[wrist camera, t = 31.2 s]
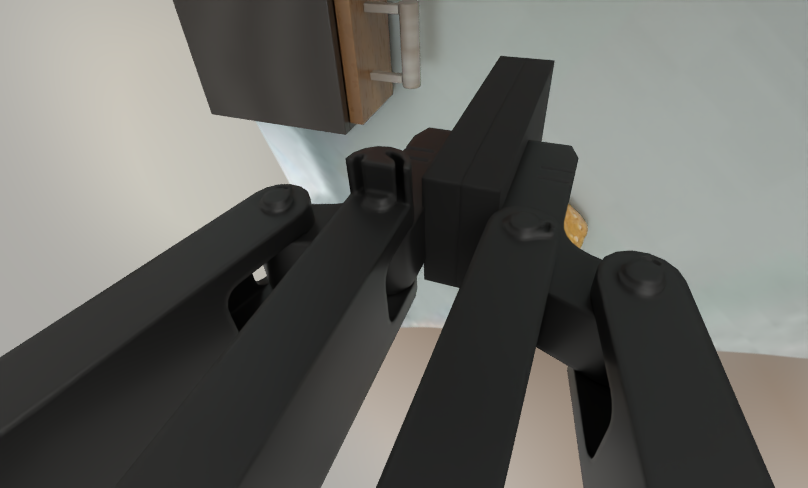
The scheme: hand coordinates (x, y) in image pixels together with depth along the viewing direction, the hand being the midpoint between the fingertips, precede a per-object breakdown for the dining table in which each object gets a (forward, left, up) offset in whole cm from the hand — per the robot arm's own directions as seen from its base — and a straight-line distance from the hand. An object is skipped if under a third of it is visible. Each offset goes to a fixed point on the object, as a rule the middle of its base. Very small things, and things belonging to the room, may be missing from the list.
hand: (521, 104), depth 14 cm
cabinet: (+6, -23, -24) cm, 34 cm away
